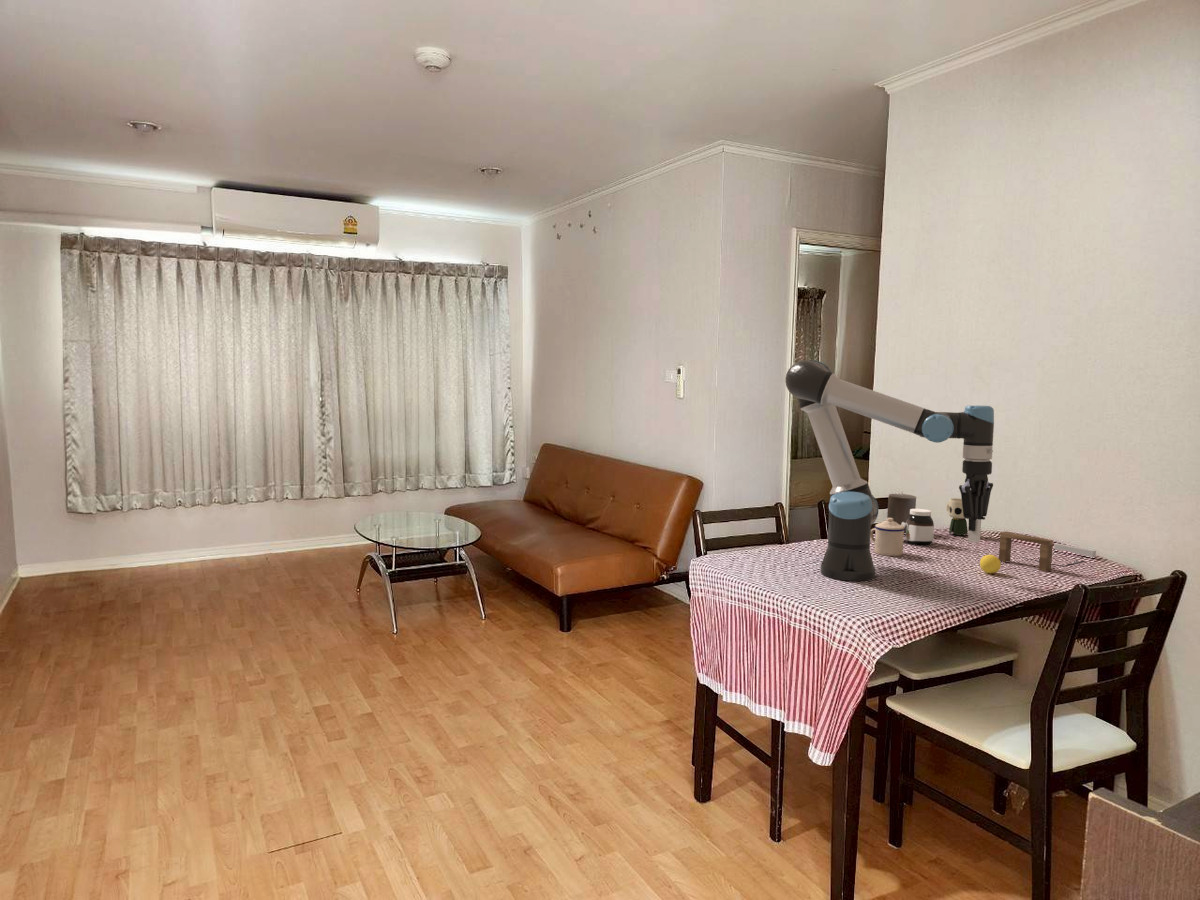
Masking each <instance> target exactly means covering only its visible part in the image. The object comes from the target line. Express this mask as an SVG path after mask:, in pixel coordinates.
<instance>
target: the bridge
mask: <svg viewBox="0 0 1200 900" xmlns="http://www.w3.org/2000/svg"><path fill="white" fill-rule="evenodd" d="M1012 540H1017V541H1024V542H1028V543H1034V544H1039V545H1040V546H1039V547H1040V548H1039V553H1040V559H1039V561H1038V562H1039V563H1038V571H1040V570H1041V571H1042V572H1049V571H1052V564H1051V563H1052V554H1053V550H1054V540H1053V539H1049V538H1043V537H1037V536H1031V535H1026V534H1021V533H1018V532H1017V533H1016V532H1012V531H1011V532H1010V531H1000V533H999V548H998V551H999V552H998V559H999V560H1000V561H1003V562H1002V563H1004V562H1005V563H1007V562H1006V561H1010V562H1011V556H1012V555H1011V554H1012V553H1011V552H1012V543H1013V542H1012Z"/></svg>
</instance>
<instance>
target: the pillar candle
mask: <svg viewBox="0 0 1200 900" xmlns="http://www.w3.org/2000/svg"><path fill="white" fill-rule="evenodd" d="M887 498H888V499H887V500H888V501H887V514H886V519H887V518H893V521H895V522H897V523H898V524H900V525H901V524H902V522H904V523H906V520H907V518H908V516H909V515H910V509H917V507H916V506H917V496H915V495H911V494H907V493H906V494H905V493H903V492H901V493H889V494H888V497H887ZM904 528H905V530H904V533H906V525H905V527H904Z"/></svg>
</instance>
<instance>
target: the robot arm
mask: <svg viewBox="0 0 1200 900" xmlns="http://www.w3.org/2000/svg"><path fill="white" fill-rule="evenodd" d="M784 382H785V386H786V388H787V390H788V392H789V393H790V394H791V395H792V396H794V398H796V401H797V403H798V406H799V408H800V411H803V412H805V413H807V416H808V419H809V421H810V426H811V428H812V431H813V434H814V436H815V439H816V442H817V446H818V448H819V451H820V454H821V456H822V460H823V462H824V466H825V469H826V471H827V474H828V477H829V480H830V482H831V485H832V488H831V489H830V491H829V495H830V498H829V503H828V528H827V529H828V533H827V535H828V536H827V548H826V550H825V553H824V556H823V558H822V561H821V563H820V574H821V575H823V576H825V577H828V578H831V579H836V580H840V581H841V580H843V581H854V582H855V581H858V582H859V581H861V582H863V581H871V580H872V579H875V578H876V567H875V565H874V560H873V557H872V554H871V538H870V533H871V530H872V528H871V527H872V525H874V523H875V522H876V520H877V519H878V516H879V504H878V501H877V498H875V497H874V495H873V494H872V491H871V488H870V486H869V483H868V481H867V480H865V479H863V478H862V477H861V476H860V473H859V470H858V468H857V464H856V462H855V458H854V456H853V452H852V450H851V446H850V443H849V441H848V438H847V435H846V433H845V429H844V427H843V424H842V421H841V418H840V414H839V413H838V412H839V411H838V410H837V407H838V408H840V409H844V410H846V411H849V412H852V413H855V414H858V415H861V416H864V417H866V418H869V419H872V420H875V421H878V422H881V423H883V424H886V425H889V426H891V427H895V428H897V429H900V430H903V431H904V432H905V431H906V432H909V433H912V434H914V435H916V436H919V437H920V438H924V439H926V440H927V441H929V442H932V443H938V444H939V443H943V442H946V441H947V440H948V439H960V440H961V439H962V440H963V443H962V444H963V446H962V459H964V460H963V461H962V469H961V471H962V473H963V474H965V475H966V476H965V479H964V483H963V485H962V484H960V485H959V486H958V489H959V492H960V496H961V497H960V499H962V507H963V516H964V517H965V519H966V520H968V525H967V531H968V534H967V535H968V536H967V541H968V542H971V543H975V544H977V543H978V544H979V543H980V542H981V528H982V527H981V526H982V520H986V517H987V515H988V509H989V503H990V498H991V493H992V490H993V487H994V483H993V482H989V477H988V475H992V472H993V471H992V470H993V462H992V461H991V460H992V459H993V451H994V450H993V446H994V432H995V431H994V430H995V429H994V427H995V409H994V408H993V407H992V406H991V405H966V406H965V407H964V411H961V412H960V411H959V412H950V411H949V412H946V411H945V412H944V411H943V412H942V411H933V410H930V409H927V408H925V407H922V406H918V405H916V404H913V403H911V402H907V401H904V400H902V399H899V398H896V397H893V396H890V395H886V394H884V393H881V392H878V391H876V390H873V389H870V388H868V387H863V386H862V385H858V384H855V383H852V382H850V381H846V380H844V379H840V378H838V377H837V375H836V373H834V372H832V370H831V368H829V366H827V365H826V364H825V363H823V362H822V361H819V360H808V359H807V360H799V361H796V362H795V363H793V364H792V365H791V366H790V367H789V368H788V370H787V372H786V375H785V381H784Z"/></svg>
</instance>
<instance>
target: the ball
mask: <svg viewBox="0 0 1200 900" xmlns="http://www.w3.org/2000/svg"><path fill="white" fill-rule="evenodd" d="M979 567H980V569H981V570H982V571H983V572H985V573H986V574H990V575H991V574H992V575H993V574H995V573H997V572H999V570H1001V567H1002V562H1000V560H999V557H998V556H996V555H993V554H986V555H984V556H982V557H981V558H980V561H979Z"/></svg>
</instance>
